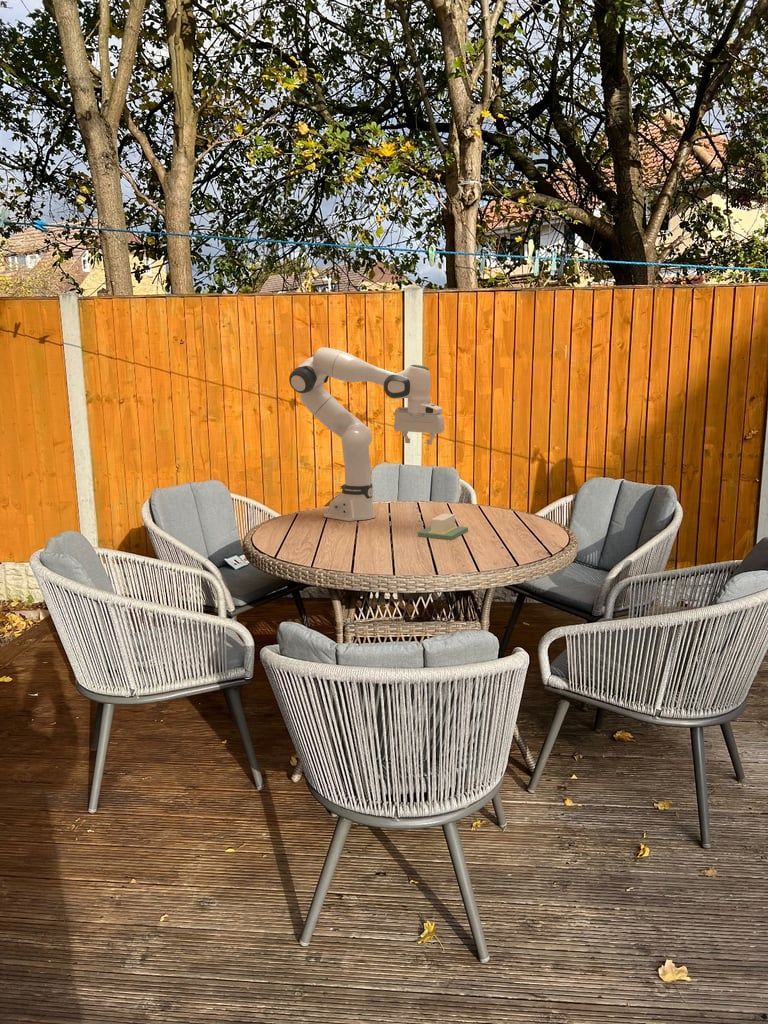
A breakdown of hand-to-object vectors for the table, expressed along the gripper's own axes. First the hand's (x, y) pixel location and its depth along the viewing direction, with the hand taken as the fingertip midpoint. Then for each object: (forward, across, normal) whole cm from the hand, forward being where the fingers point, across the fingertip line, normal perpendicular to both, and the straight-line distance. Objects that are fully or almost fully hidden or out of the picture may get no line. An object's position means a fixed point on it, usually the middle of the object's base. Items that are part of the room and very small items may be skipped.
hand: (418, 443), depth 295 cm
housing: (+32, +13, -5) cm, 35 cm away
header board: (+33, +13, -5) cm, 36 cm away
